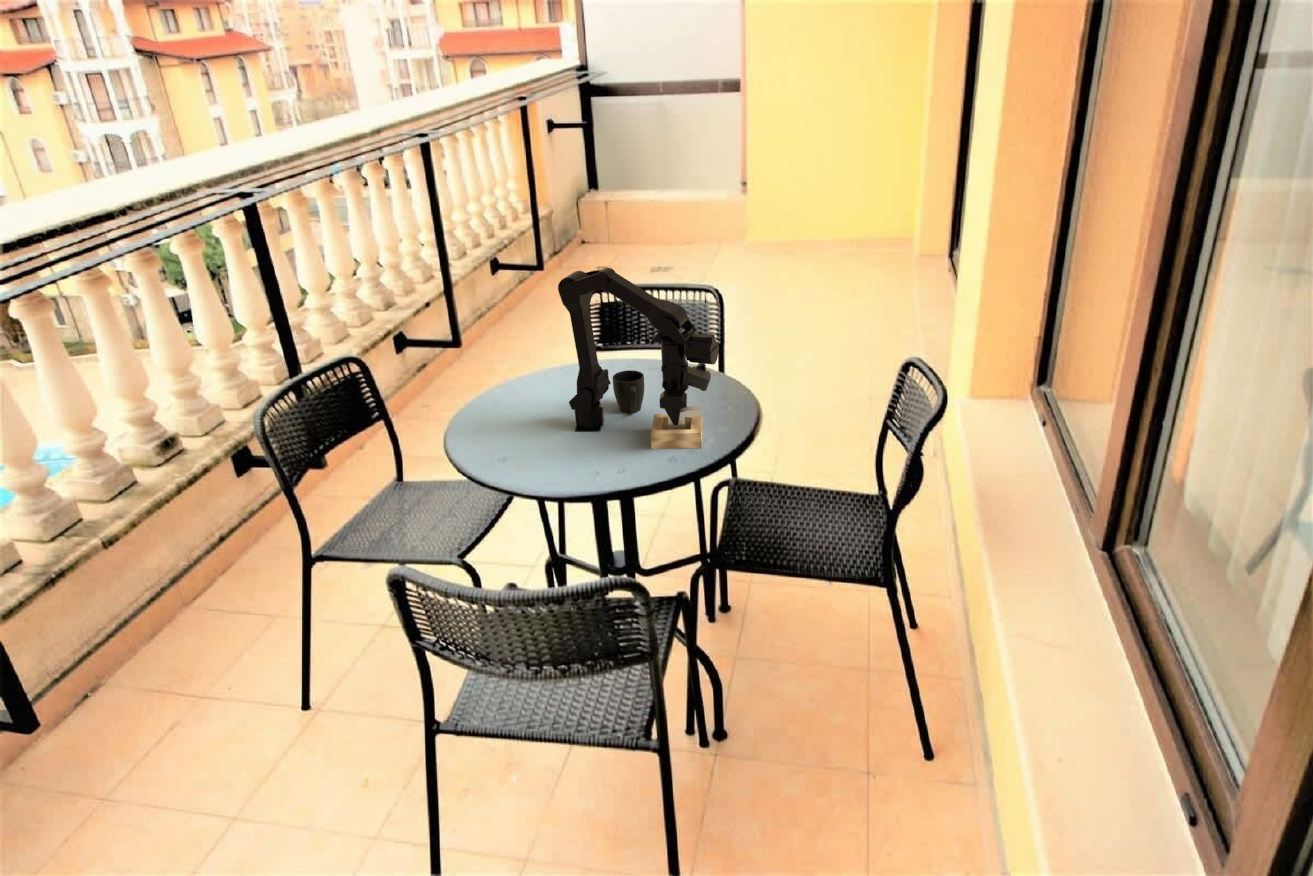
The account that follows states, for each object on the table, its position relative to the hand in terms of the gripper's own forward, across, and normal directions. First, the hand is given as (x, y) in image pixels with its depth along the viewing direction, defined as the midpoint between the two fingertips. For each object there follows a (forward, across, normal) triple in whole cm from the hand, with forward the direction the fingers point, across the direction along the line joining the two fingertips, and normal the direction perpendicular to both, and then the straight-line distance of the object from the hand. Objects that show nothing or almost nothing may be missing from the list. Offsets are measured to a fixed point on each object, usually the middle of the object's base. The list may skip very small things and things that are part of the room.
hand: (676, 419), depth 204 cm
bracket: (+5, 0, -2) cm, 5 cm away
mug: (+5, +16, +13) cm, 21 cm away
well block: (+5, 0, 0) cm, 5 cm away
